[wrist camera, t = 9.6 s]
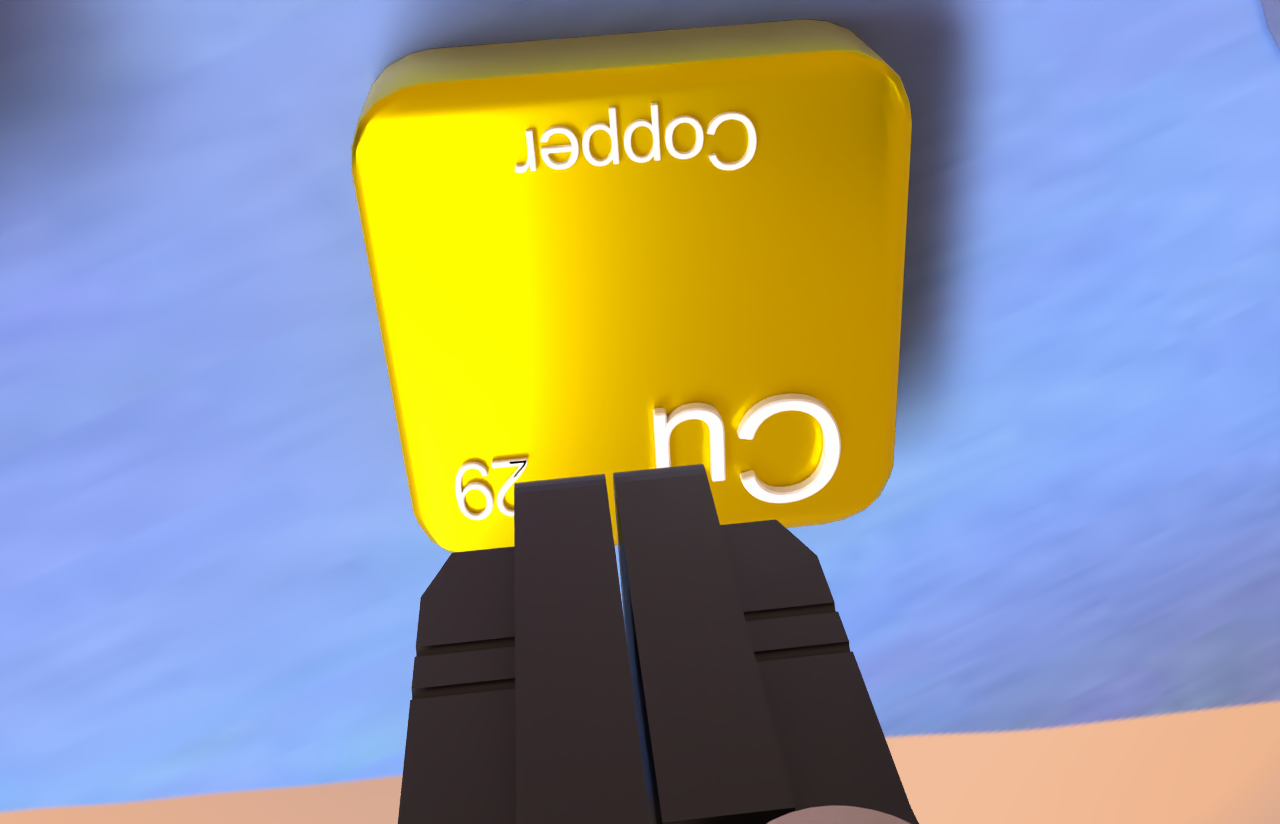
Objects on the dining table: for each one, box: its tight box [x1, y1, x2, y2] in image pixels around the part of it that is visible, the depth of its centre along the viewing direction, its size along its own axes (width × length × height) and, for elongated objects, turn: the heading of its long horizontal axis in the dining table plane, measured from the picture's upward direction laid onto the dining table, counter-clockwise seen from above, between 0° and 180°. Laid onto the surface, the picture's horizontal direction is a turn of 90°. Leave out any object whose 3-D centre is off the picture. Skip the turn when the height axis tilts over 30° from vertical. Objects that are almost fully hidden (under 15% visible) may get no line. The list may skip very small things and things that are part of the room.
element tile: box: [351, 19, 912, 553], centre depth 36 cm, size 15×15×5 cm
